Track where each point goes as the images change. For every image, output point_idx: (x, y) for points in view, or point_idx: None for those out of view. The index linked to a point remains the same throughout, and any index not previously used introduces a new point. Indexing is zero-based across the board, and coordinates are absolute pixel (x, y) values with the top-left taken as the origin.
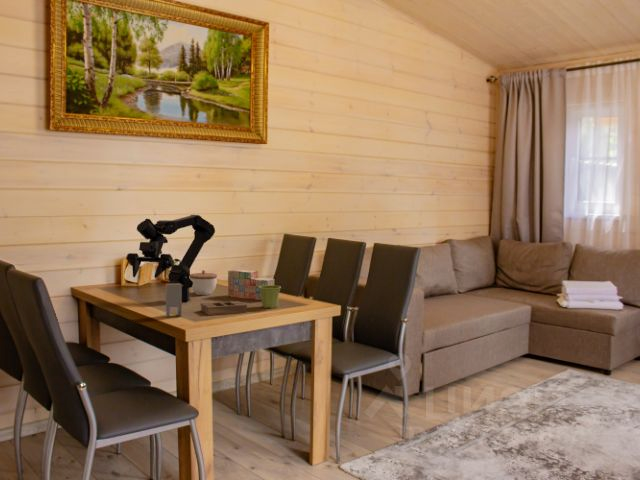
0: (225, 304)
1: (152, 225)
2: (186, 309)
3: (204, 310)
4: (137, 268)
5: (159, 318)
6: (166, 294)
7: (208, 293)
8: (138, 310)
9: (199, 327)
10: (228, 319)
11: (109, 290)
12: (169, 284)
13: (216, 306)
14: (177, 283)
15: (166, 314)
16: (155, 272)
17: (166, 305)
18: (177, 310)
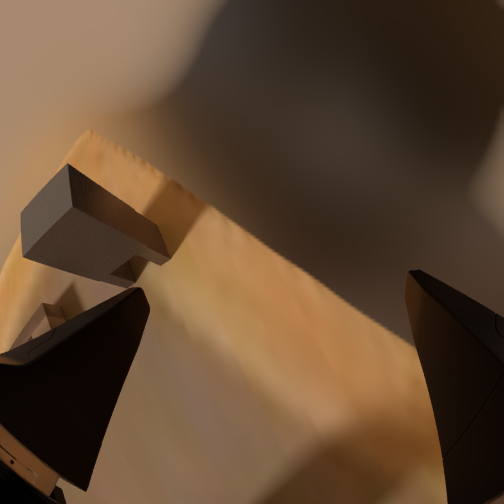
0: None
1: None
2: (143, 401)
3: None
4: (456, 428)
5: (174, 200)
6: (98, 185)
7: None
8: (341, 323)
9: (68, 160)
10: (26, 267)
11: None
12: (56, 191)
13: (31, 330)
14: (31, 242)
15: (153, 226)
16: (110, 307)
17: (129, 206)
18: (123, 277)
